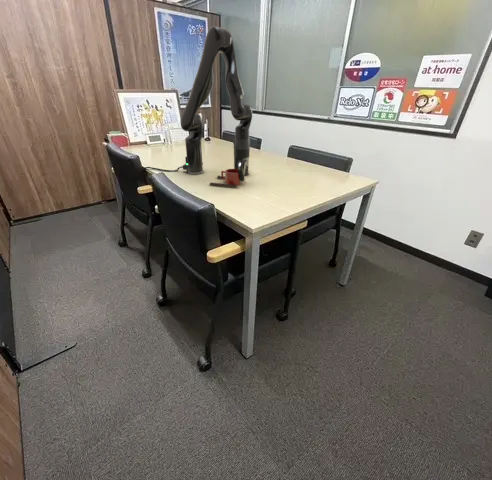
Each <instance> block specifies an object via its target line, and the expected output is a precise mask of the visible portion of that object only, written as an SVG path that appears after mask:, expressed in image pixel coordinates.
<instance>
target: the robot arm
mask: <svg viewBox="0 0 492 480" xmlns="http://www.w3.org/2000/svg"><path fill="white" fill-rule="evenodd" d="M204 39H205V40H204V45H203V49H202V54H201V58H200V61H199V65H198V69H197V71H196V75H195V77H194V80H193V84H192V86H191V87H192V88H191V90H190V94H189V97H188V100H187V103H186V105H185V107H184V109H183V112H182V114H181V117H180V122H179V123H180V127H181V129H182V131H184V132H189V134H188V135H187V136H186V137H185V139H184V142H185V153H186V156H185V158H184V159H185V163H184V164H183V165H181V166H178V167H177V169H174V170H172V169H171V170H170V169H163V168H158V167H151V166H145V167H144V168H143V170H147V169H151V170H157V171H160V172H161V171H162V172H169V173H171V172H172V173H173V172H178V171H179V170H180V169H182V170H185V171H186V174H190V175H200V174H203V173H204V166H203V165H204V162H203V147H202V139H203V119H202V116H201V115H200V114H199V113H198V111H199V109H200V108H201V107H202V106H203V105H204V104H205V102H206V101H207V100H208V99H209V97H210V95H211V92H212V89H213V87H214V82H215V77H214V76H215V75H214V64H215V61H216V58H217V55H218V54H221V55H222V57H223V60H224V63H225V64H224V65H225V74H224V76H225V77H224V80H225V86H226V89H227V93H228V96H229V104H230V105H229V106H230V113H231V115H232V118H233V119H234V120H235V121H239V123H238V124H237V125H236V126H235V129H234V138H235V157H236V158H238V159H239V160H238V166H237V170H238V174H240V181H241V182H244V181H245V176H244V174H245V171H246V165H247V161H246V158H248V157H249V158H250V151H249V138H250V127H251V123H252V119H253V109H252V106H251V105H250V104H249V103H243V102H242V99H243V98H244V96H245V91H244V88H243V85H242V80H241V77H240V73H239V70H238V69H239V68H238V63H237V58H236V52H235V43H234V39H233V35H232V33H231V31H230V30H229V29H227V28H224V27H220V26H216V25H214V26H213V25H212V26H211V27H210V28H209V29H208V31H207V33H206V35H205V38H204Z"/></svg>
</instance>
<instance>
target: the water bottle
mask: <svg viewBox="0 0 492 480" xmlns="http://www.w3.org/2000/svg"><path fill="white" fill-rule="evenodd" d="M251 143H252V140H251V139H250V137H249V152H250V150H251V149H250V148H251ZM232 144H233V169H237V166H238V160H239V159H238V158H236V157H235V137H234V138H233V139H232ZM246 161H247V165H246V171H245V174H244V177H246V176H248V175H249V168H250V167H249V165H250V164H249V163H250V156H249V157H248V158H246Z"/></svg>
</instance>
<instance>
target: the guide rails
mask: <svg viewBox="0 0 492 480" xmlns="http://www.w3.org/2000/svg"><path fill="white" fill-rule="evenodd" d="M223 178H225V175H223ZM216 179H217V180H222V179H221V175H217V177H216ZM209 186H211V187H219V188H220V187H221V188H230V189H238V185H233V184H226V183H222V182H212V181H211V182H209Z"/></svg>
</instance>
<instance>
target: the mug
mask: <svg viewBox="0 0 492 480" xmlns="http://www.w3.org/2000/svg"><path fill="white" fill-rule="evenodd" d="M220 174H221V175H220V176H221V179H220V180H223V181H225V184H233V185H237V186H239V185H241V183H242V181H240V174H238V170H237V169H234V168H228V169H225V170H221V173H220ZM223 176H225V178H223Z"/></svg>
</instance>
